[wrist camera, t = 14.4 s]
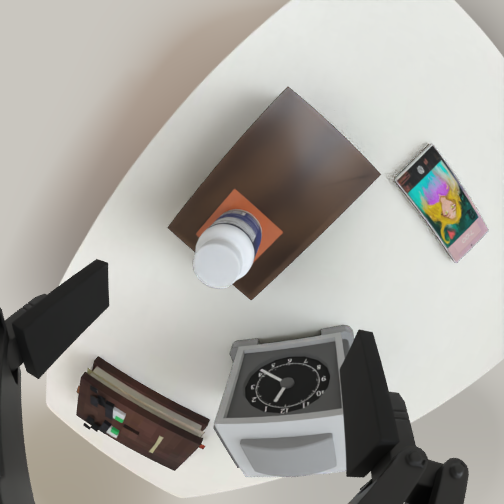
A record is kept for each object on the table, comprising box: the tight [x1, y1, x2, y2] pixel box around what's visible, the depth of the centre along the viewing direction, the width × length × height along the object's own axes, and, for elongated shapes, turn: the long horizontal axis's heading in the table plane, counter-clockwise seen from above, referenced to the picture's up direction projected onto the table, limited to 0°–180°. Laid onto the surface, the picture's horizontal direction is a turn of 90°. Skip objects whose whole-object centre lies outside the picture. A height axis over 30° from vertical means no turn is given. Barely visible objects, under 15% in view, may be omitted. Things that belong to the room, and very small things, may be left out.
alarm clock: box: [214, 325, 354, 477], centre depth 37 cm, size 18×13×18 cm
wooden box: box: [168, 87, 381, 300], centre depth 35 cm, size 13×21×5 cm, turn 139°
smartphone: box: [395, 144, 489, 263], centre depth 33 cm, size 7×1×15 cm
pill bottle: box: [193, 209, 262, 289], centre depth 29 cm, size 5×5×10 cm
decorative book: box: [76, 357, 209, 471], centre depth 53 cm, size 19×8×30 cm
